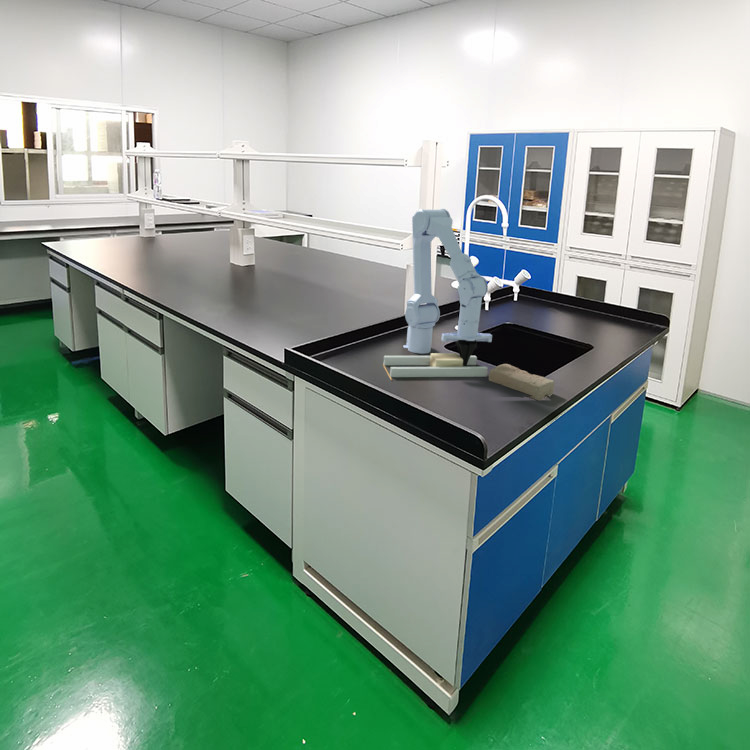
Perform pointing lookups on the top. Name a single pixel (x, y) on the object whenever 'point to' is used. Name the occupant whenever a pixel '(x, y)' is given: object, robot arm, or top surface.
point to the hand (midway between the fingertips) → (463, 364)
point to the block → (445, 360)
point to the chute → (430, 368)
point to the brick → (522, 381)
